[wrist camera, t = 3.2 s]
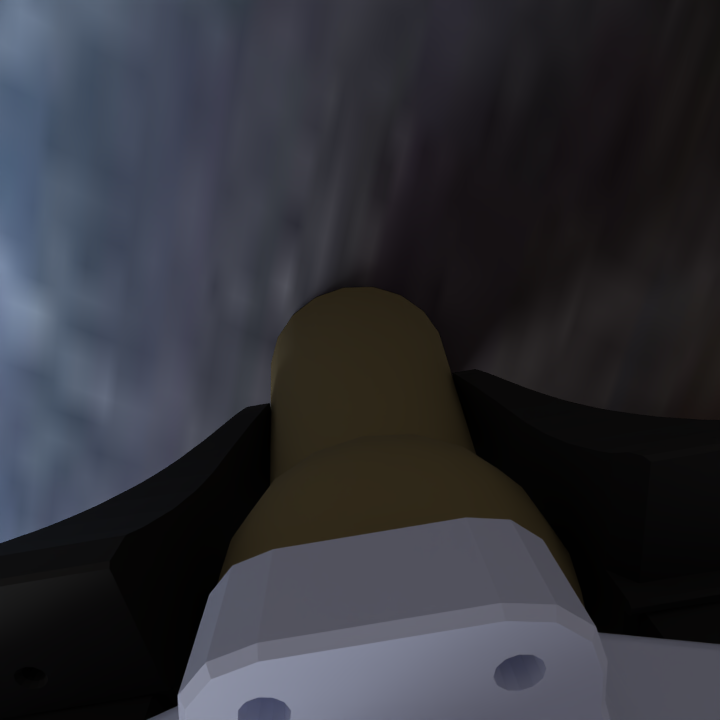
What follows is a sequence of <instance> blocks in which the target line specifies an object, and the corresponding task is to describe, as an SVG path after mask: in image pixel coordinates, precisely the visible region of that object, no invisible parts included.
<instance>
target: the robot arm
mask: <svg viewBox="0 0 720 720" xmlns="http://www.w3.org/2000/svg"><path fill="white" fill-rule="evenodd" d="M452 374H453V380H454V384H455V387H456V390H457V393H458V397H459V400H460V403H461V406H462V410H463V413H464V416H465V419H466V423H467V426H468V429H469V432H470V436H471V439H472V442H473V445H474V449H475V452H476V455H477V456H479V457H480V458H482V459H483V460H485V461H487V462H488V463H490V464H491V465H493V466H495V467H496V468H498V469H499V470H501V471H502V472H503V473H504V474H506V475H507V476H508V477H509V478H511V479H512V480H513V481H515V482H516V483H517V484H518V485H520V486H521V487H522V488H523V489H524V491H525V492H526V493H527V495H528V496H529V497H530V499H531V500H532V501H533V503H534V504H535V505H536V507H537V508H538V509H539V511H540V512H541V513H542V515H543V516H544V517H545V519H546V520H547V522H548V523H549V524H550V526H551V527H552V529H553V530H554V532H555V533H556V535H557V536H558V537H559V539H560V540H561V542H562V543H563V545H564V546H565V548H566V549H567V551H568V552H569V554H570V557H571V560H572V563H573V566H574V569H575V572H576V576H577V579H578V582H579V585H580V588H581V591H582V596H583V601H584V605H585V608H584V606H583V605H582V603H581V601H580V600H579V598H578V597H577V595H576V593H575V592H574V590H573V588H572V587H571V585H570V583H569V582H568V580H567V578H566V577H565V575H564V574H563V572H562V570H561V569H560V567H559V565H558V564H557V562H556V560H555V559H554V557H553V555H552V554H551V552H550V551H549V549H548V547H547V546H546V544H545V542H544V541H543V539H541V538H539V537H538V536H536V535H535V534H533V533H531V532H530V531H528V530H527V529H525V528H523V527H522V526H520V525H518V524H517V523H515V522H514V521H512V520H508V519H488V518H468V517H466V518H460V519H454V520H447V521H441V522H435V523H429V524H423V525H417V526H411V527H405V528H399V529H393V530H387V531H381V532H375V533H369V534H363V535H357V536H350V537H344V538H338V539H332V540H326V541H320V542H314V543H308V544H302V545H296V546H290V547H284V548H278V549H273V550H270V551H268V552H265V553H263V554H260V555H258V556H255V557H252V558H250V559H247V560H245V561H242V562H240V563H237V564H235V565H232V567H231V568H230V569H229V570H228V572H227V573H226V574H225V575H224V577H223V578H222V579H221V580H220V582H219V583H218V580H219V576H220V572H221V569H222V566H223V563H224V560H225V557H226V554H227V551H228V548H229V544H230V541H231V539H232V537H233V536H234V534H235V533H236V532H237V530H238V529H239V527H240V526H241V524H242V523H243V522H244V520H245V519H246V517H247V516H248V514H249V513H250V512H251V510H252V509H253V508H254V506H255V505H256V504H257V502H258V501H259V500H260V498H261V497H262V496H263V494H264V493H265V492H266V490H267V489H268V488H269V486H270V442H271V407H270V403H268V404H262V405H256V406H250V407H247V408H245V409H243V410H242V411H240V412H239V413H237V414H236V415H235V416H234V417H232V418H231V419H230V420H229V421H227V422H226V423H225V424H224V425H223V426H221V427H220V428H219V429H218V430H216V431H215V432H214V433H213V434H212V435H210V436H209V437H208V438H207V439H205V440H204V441H203V442H201V443H200V444H199V445H197V446H196V447H195V448H193V449H192V450H191V451H189V452H188V453H187V454H185V455H184V456H183V457H181V458H180V459H178V460H177V461H176V462H174V463H173V464H171V465H170V466H168V467H167V468H165V469H163V470H162V471H160V472H159V473H157V474H155V475H154V476H152V477H150V478H149V479H147V480H145V481H144V482H142V483H140V484H138V485H137V486H135V487H133V488H131V489H129V490H127V491H125V492H123V493H121V494H119V495H117V496H115V497H113V498H111V499H109V500H107V501H105V502H103V503H101V504H99V505H97V506H95V507H93V508H91V509H88V510H86V511H84V512H82V513H79V514H77V515H75V516H72V517H70V518H67V519H65V520H63V521H60V522H58V523H55V524H53V525H50V526H48V527H45V528H42V529H40V530H37V531H34V532H32V533H29V534H26V535H23V536H20V537H17V538H14V539H11V540H9V541H6V542H3V543H0V720H720V420H696V419H681V418H665V417H655V416H645V415H637V414H630V413H624V412H617V411H610V410H605V409H599V408H594V407H590V406H586V405H581V404H577V403H572V402H569V401H565V400H561V399H558V398H555V397H552V396H548V395H545V394H542V393H539V392H536V391H533V390H530V389H528V388H525V387H522V386H519V385H517V384H514V383H512V382H509V381H507V380H504V379H502V378H499V377H497V376H494V375H491V374H489V373H486V372H483V371H480V370H476V369H473V370H467V371H461V372H455V373H452Z"/></svg>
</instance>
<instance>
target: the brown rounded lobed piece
mask: <svg viewBox="0 0 720 720" xmlns="http://www.w3.org/2000/svg"><path fill="white" fill-rule="evenodd" d="M466 517H468V518H488V519H508V520H512V521H514V522H515V523H517V524H518V525H520V526H522V527H523V528H525V529H527V530H528V531H530V532H531V533H533V534H535V535H536V536H538V537H539V538H541V539H543V541H544V542H545V544H546V546H547V547H548V549H549V551H550V552H551V554H552V555H553V557H554V559H555V560H556V562H557V564H558V565H559V567H560V569H561V570H562V572H563V574H564V575H565V577H566V578H567V580H568V582H569V583H570V585H571V587H572V588H573V590H574V592H575V593H576V595H577V597H578V598H579V600H580V601H581V603H582V605H583V606H584V608H585V605H584V601H583V596H582V591H581V588H580V585H579V582H578V579H577V576H576V572H575V569H574V566H573V563H572V560H571V557H570V554H569V552H568V551H567V549H566V548H565V546H564V545H563V543H562V542H561V540H560V539H559V537H558V536H557V535H556V533H555V532H554V530H553V529H552V527H551V526H550V524H549V523H548V522H547V520H546V519H545V517H544V516H543V515H542V513H541V512H540V511H539V509H538V508H537V507H536V505H535V504H534V503H533V501H532V500H531V499H530V497H529V496H528V495H527V493H526V492H525V491H524V489H523V488H522V487H521V486H520V485H518V484H517V483H516V482H515V481H513V480H512V479H511V478H509V477H508V476H507V475H506V474H504V473H503V472H502V471H501V470H499V469H498V468H496V467H495V466H493V465H491V464H490V463H488V462H487V461H485V460H483V459H482V458H480V457H479V456H477V455H476V452H475V449H474V445H473V442H472V439H471V436H470V432H469V429H468V426H467V423H466V419H465V416H464V413H463V410H462V406H461V403H460V400H459V397H458V393H457V390H456V387H455V384H454V380H453V377H452V374H451V371H450V367H449V364H448V361H447V358H446V354H445V351H444V348H443V345H442V341H441V338H440V335H439V332H438V331H437V330H436V328H435V327H434V325H433V324H432V323H431V321H430V320H429V318H428V317H427V316H426V314H425V313H424V311H422V310H421V309H419V308H418V307H417V306H415V305H414V304H412V303H411V302H410V301H408V300H407V299H405V298H404V297H402V296H401V295H398V294H395V293H391V292H388V291H385V290H381V289H378V288H375V287H351V288H341V289H338V290H336V291H333V292H330V293H327V294H324V295H321V296H318V297H316V298H314V299H313V300H312V301H311V302H309V303H308V304H307V305H305V306H304V307H303V308H301V309H300V310H299V311H298V312H296V313H295V314H294V315H293V316H292V317H291V319H290V320H289V322H288V323H287V325H286V326H285V328H284V329H283V331H282V332H281V334H280V335H279V337H278V339H277V343H276V347H275V351H274V355H273V358H272V362H271V442H270V486H269V488H268V489H267V490H266V492H265V493H264V494H263V496H262V497H261V498H260V500H259V501H258V502H257V504H256V505H255V506H254V508H253V509H252V510H251V512H250V513H249V514H248V516H247V517H246V519H245V520H244V522H243V523H242V524H241V526H240V527H239V529H238V530H237V532H236V533H235V534H234V536H233V537H232V539H231V541H230V544H229V548H228V551H227V554H226V557H225V560H224V563H223V566H222V569H221V572H220V576H219V580H218V583H219V582H220V580H221V579H222V578H223V577H224V575H225V574H226V573H227V572H228V570H229V569H230V568H231V567H232V565H235V564H237V563H240V562H242V561H245V560H247V559H250V558H252V557H255V556H258V555H260V554H263V553H265V552H268V551H270V550H273V549H278V548H284V547H290V546H296V545H302V544H308V543H314V542H320V541H326V540H332V539H338V538H344V537H350V536H357V535H363V534H369V533H375V532H381V531H387V530H393V529H399V528H405V527H411V526H417V525H423V524H429V523H435V522H441V521H447V520H454V519H460V518H466Z"/></svg>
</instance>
